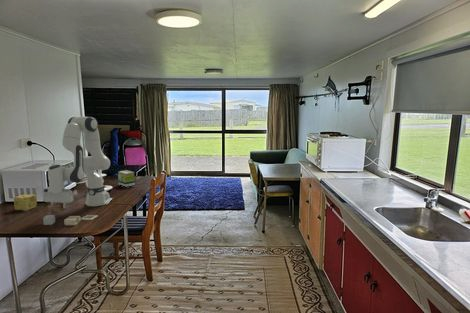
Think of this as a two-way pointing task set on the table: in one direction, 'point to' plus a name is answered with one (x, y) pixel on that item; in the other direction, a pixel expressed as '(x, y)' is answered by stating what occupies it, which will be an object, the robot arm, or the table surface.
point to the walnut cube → (58, 207)
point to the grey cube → (49, 219)
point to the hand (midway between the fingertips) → (59, 208)
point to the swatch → (89, 217)
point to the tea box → (126, 178)
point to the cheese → (25, 202)
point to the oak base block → (72, 220)
